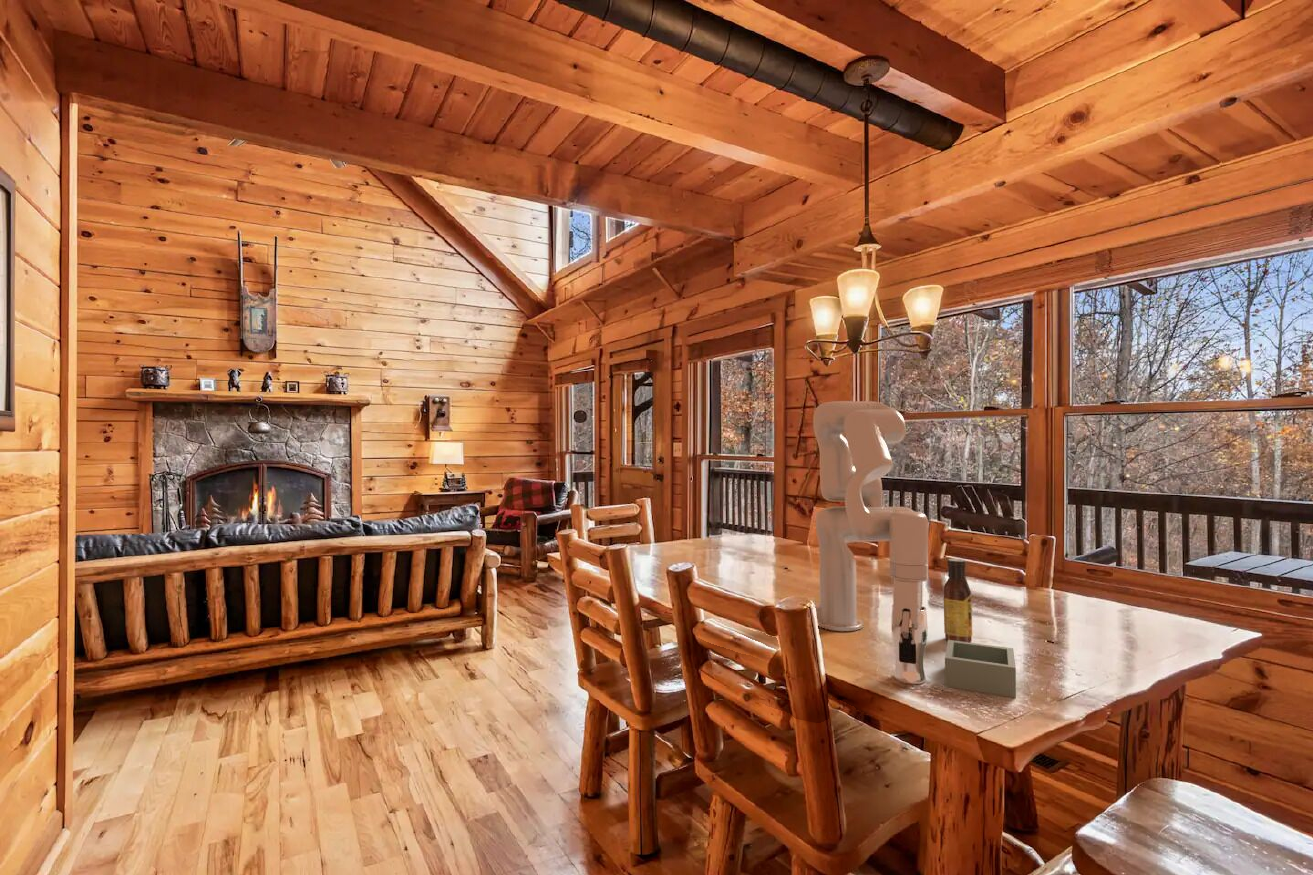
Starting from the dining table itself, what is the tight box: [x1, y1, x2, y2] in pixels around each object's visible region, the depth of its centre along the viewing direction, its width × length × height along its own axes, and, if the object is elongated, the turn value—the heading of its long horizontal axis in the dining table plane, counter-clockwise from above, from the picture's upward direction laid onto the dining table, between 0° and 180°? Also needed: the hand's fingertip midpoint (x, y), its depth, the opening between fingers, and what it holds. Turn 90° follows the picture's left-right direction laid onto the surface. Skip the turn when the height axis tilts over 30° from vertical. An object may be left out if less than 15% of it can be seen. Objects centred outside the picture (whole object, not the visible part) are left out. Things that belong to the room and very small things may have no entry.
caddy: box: [944, 640, 1017, 699], centre depth 128 cm, size 12×12×6 cm
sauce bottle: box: [943, 558, 973, 643], centre depth 154 cm, size 6×6×20 cm
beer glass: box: [890, 604, 928, 685], centre depth 130 cm, size 7×7×15 cm
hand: (909, 656), depth 130 cm, fingers closed on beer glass, 6 cm apart
